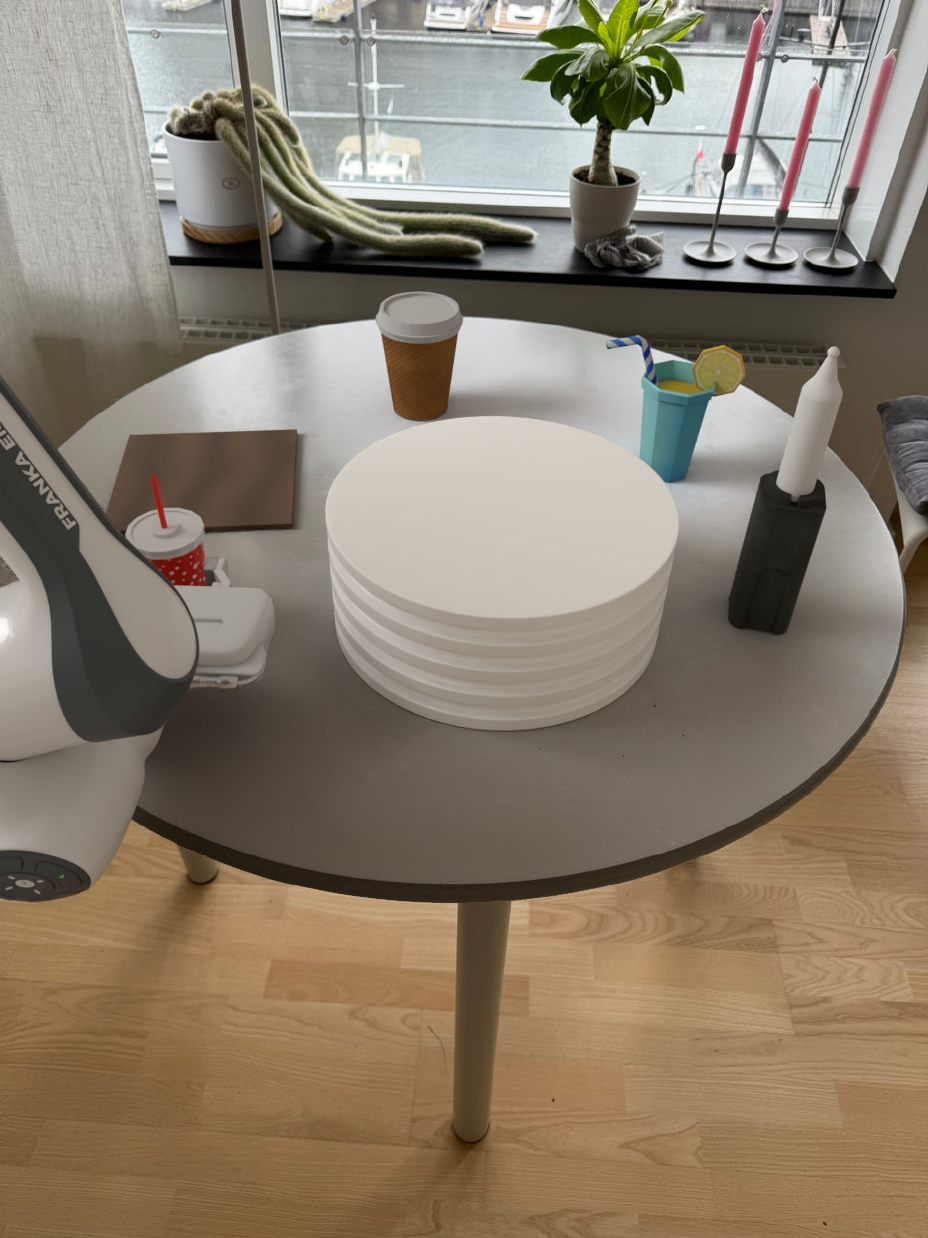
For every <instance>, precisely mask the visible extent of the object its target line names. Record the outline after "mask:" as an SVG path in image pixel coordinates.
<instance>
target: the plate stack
mask: <svg viewBox="0 0 928 1238" xmlns="http://www.w3.org/2000/svg"><path fill="white" fill-rule="evenodd" d="M677 505H678V504H677V503H676V499H675V498H674V495H673V493H672V491H671V490H670V489H669V487H668V485H667V484H666V482H664V481H663V480H662V479H661V477H660V476H659V475H658V474H657V473H656V472H655V471H654V470H653V469H652V468H651V467H650V466H649V465H648V464H646V463H645V462H644V461H643V460H641V459H640V456H637V455H636V454H634V453H633V452H631V451H630V450H629V449H626V448H624V447H623V446H621V445H619V444H617V443H615V442H613V441H611V440H609V439H608V438H605V437H602V436H600V435H598V434H595V433H592V432H589V431H587V430H584V429H580V428H578V427H574V426H571V425H567V424H562V423H558V422H553V421H548V420H543V419H536V418H529V417H518V416H503V415H480V416H465V417H464V416H463V417H455V418H448V419H441V420H436V421H431V422H428V423H423V424H419V425H416V426H411V427H409V428H406V429H403V430H400V431H398V432H395V433H393V434H390V435H388V436H386V437H384V438H381V439H380V440H377V441H376V442H374V443H372V444H371V445H369V446H368V447H366V448H364V449H363V450H361V451H360V452H359V453H358V454H356V455H355V456H354V457H352V459H350V460H349V461H348V462H347V463H346V464H345V465H344V466H343V468H342V469H341V470H340V471H339V472H338V474H337V475H336V477H335V478H334V480H333V482H332V484H331V486H330V488H329V491H328V494H327V497H326V501H325V511H324V512H325V514H324V515H325V523H326V524H325V525H326V533H327V534H326V535H327V549H328V558H329V571H330V572H329V573H330V580H331V594H332V603H333V609H334V610H333V614H334V615H333V616H334V627H335V634H336V638H337V641H338V644H339V647H340V649H341V651H342V654H343V655H344V657H345V659H346V660H347V662H348V664H349V666H351V668H352V670H354V672H355V673H356V674H357V675H358V676H359V677H360V678H361V680H362V681H363V682H364V683H366V684H367V685H368V686H369V687H370V688H372V690H374V691H375V692H377V694H379V695H381V696H382V697H383V698H385V699H387V700H388V701H389V702H391V703H393V704H394V705H396V706H398V707H400V708H401V709H404V710H406V711H408V712H410V713H413V714H415V715H418V716H420V717H424V718H426V719H428V720H432V721H435V722H437V723H441V724H446V725H450V726H456V727H459V728H466V729H473V730H481V731H482V730H483V731H497V732H498V731H503V732H504V731H505V732H507V731H526V730H534V729H542V728H549V727H554V726H557V725H561V724H564V723H565V724H566V723H568V722H572V721H575V720H578V719H580V718H583V717H586V716H587V715H591V714H592V713H595V712H597V711H600V710H601V709H603V708H605V707H606V706H608V705H610V704H611V703H613V702H615V701H616V700H617V699H618V698H620V697H621V696H623V695H624V694H626V693H627V691H629V690H630V689H631V688H632V687H633V686H634V685H635V684H636V683H637V681H638V680H639V679H640V678H641V677H642V675H643V674H644V673H645V671H646V670H647V668H648V666H649V665H650V663H651V660H652V658H653V655H654V653H655V650H656V646H657V642H658V638H659V633H660V626H661V622H662V618H663V613H664V607H665V606H664V605H665V603H666V598H667V593H668V588H669V584H670V583H669V582H670V578H671V573H672V570H673V569H672V568H673V564H674V557H675V553H676V549H677V544H678V539H679V535H680V527H681V526H680V514H679V509H678V506H677Z"/></svg>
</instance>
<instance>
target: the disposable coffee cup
mask: <svg viewBox="0 0 928 1238" xmlns="http://www.w3.org/2000/svg"><path fill="white" fill-rule="evenodd" d="M378 309H379V310H378V312H377V313H376V315H375V324H376V326H377V327H378V331H379V332H380V335H381V341H382V347H383V353H384V359H385V366H386V372H387V377H388V383H389V389H390V395H391V396H390V397H391V401H392V408H393V411H394V413H396V414H397V415H398V416H400V417H402V418H404V419H407V420H412V421H430V420H434V419H436V418H439V417H441V416H443V415H444V414H445V413H446V412H447V410H448V407H449V406H448V405H449V398H450V393H451V392H450V391H451V384H452V379H453V373H454V372H453V370H454V364H455V358H456V351H457V344H458V337H459V336H458V335H459V332H460V330H461V327H462V326H463V323H464V316H463V314H462V313H461V312H460V306H459V304H458V302H457V301H456V300H455V299H453V298H451V297H449V296H448V295H444V294H442V293H437V292H431V291H407V292H400V293H396V294H393V295H390V296H389V297H387V298H385V299H384V300H383V301H381V303H380V305H379V308H378Z"/></svg>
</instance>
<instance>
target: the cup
mask: <svg viewBox="0 0 928 1238" xmlns="http://www.w3.org/2000/svg"><path fill="white" fill-rule="evenodd" d="M636 345H638V346H639V347H640V348H641V352H642V356H643V361H644V365H645V370H644V373H643V375H642V377H641V379H640V380H641V384H640V386H641V389H642V390H643V396H642V398H643V399H642V411H641V413H642V414H641V429H640V432H641V433H640V444H639V445H640V446H639V458H640V459H641V460H643V461H644V462H645V463H646V464H648V465H649V466H650V467H651V468H652V469H653V470H654V471H655V472H656V473H657V474H658V475H659V476H660V477H661V479H662V480H663V481H664V482H665V483H672V482H676V481H680V480H684V479H685V478H686V477H687V474H688V471H689V468H690V464H691V462H692V458H693V455H694V451H695V448H696V444H697V442H698V440H699V439H698V438H699V435H700V431H701V428H702V425H703V422H704V419H705V415H706V412H707V409H708V405H709V402H710V401H712V398H716V397H720V396H725V395H729V394H733V393H735V392H736V390H737V389H738V388H739V386H740V385H741V384H742V382H743V380H744V379H745V378H746V375H747V372H746V368H745V364H744V359H743V354H741V353H739V352H738V351H736V350H734V349H732V348H730V347H728V346H727V345H725V344H723V345H718V346H714V347H709V348H706V349H703V350H702V352H701V353H700V355H699V356H698V358H697V359H696V361H695V362H694V363H693V362H687V361H683V360H675V359H669V360H666V361H665V360H664V361H661V362H656V363H655V362H654V358H653V353H652V349H651V345H650V343H649V342H648V340H647V339H646V338H644V337H642V336H641V335H638V334H637V335H632V336H626V337H621V338H616V339H611V340H610V339H609V340H605V346H606V349H607V350H611V349H618V348H624V347H630V346H636Z"/></svg>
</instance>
